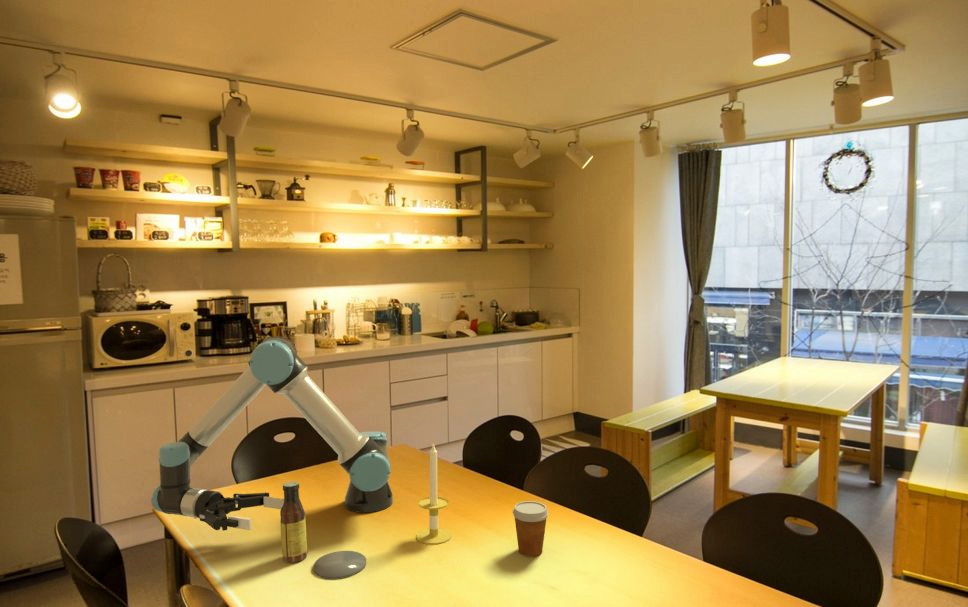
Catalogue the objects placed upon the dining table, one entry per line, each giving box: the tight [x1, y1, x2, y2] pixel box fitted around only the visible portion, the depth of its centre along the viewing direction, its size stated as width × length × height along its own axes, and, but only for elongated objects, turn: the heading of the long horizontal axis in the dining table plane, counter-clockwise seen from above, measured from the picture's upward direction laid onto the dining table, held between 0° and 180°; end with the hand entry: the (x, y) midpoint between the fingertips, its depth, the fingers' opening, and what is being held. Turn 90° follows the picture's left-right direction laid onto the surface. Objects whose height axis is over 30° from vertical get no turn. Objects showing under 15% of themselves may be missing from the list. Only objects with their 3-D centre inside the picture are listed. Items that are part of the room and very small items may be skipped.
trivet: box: [313, 550, 367, 580], centre depth 154 cm, size 13×13×1 cm
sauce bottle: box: [279, 480, 308, 564], centre depth 157 cm, size 7×6×20 cm
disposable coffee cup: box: [512, 500, 550, 557], centre depth 161 cm, size 10×10×12 cm
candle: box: [416, 442, 452, 546], centre depth 170 cm, size 10×10×27 cm
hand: (268, 514), depth 159 cm, fingers open, 13 cm apart
